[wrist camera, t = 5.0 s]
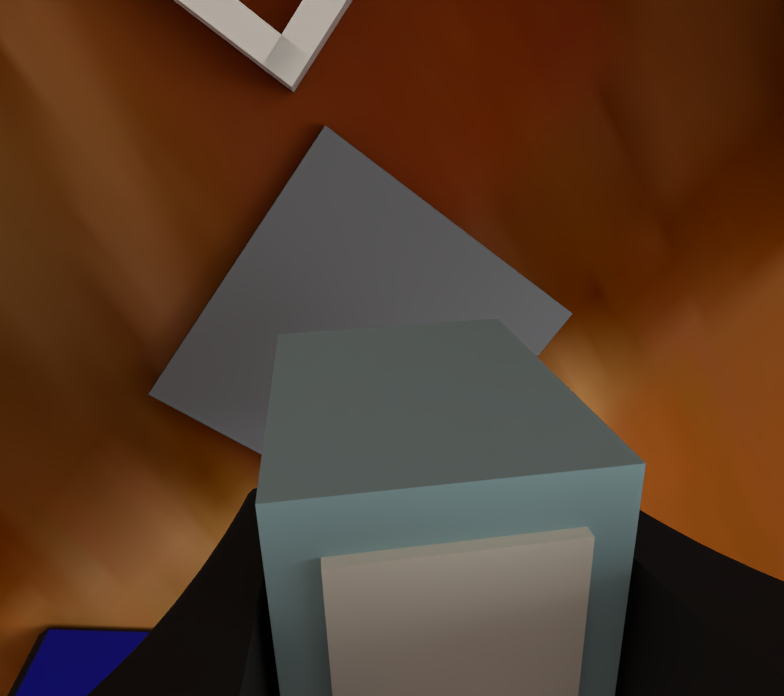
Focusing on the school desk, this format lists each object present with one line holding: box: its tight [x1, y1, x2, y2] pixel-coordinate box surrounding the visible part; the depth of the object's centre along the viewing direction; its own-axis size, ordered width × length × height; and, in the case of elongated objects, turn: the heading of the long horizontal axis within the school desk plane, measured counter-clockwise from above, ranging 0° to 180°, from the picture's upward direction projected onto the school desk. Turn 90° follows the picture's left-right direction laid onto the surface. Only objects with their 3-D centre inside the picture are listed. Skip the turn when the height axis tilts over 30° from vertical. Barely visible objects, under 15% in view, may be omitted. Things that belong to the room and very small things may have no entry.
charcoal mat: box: [148, 126, 572, 455], centre depth 20 cm, size 10×10×1 cm
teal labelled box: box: [255, 318, 646, 696], centre depth 10 cm, size 4×6×6 cm
